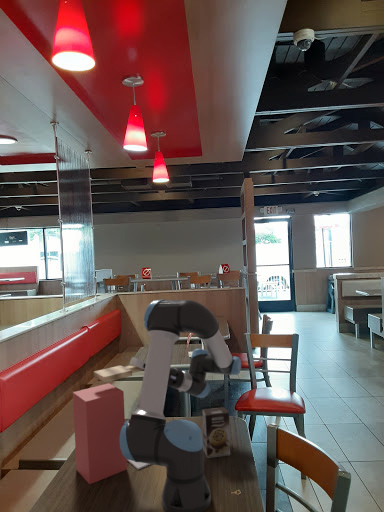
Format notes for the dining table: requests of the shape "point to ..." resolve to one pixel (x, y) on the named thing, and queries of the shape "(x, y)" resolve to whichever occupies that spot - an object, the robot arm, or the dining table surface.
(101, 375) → the tan flat paddle-shaped piece
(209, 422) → the coffee box
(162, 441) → the robot arm
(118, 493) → the dining table surface
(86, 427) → the red rectangular block
